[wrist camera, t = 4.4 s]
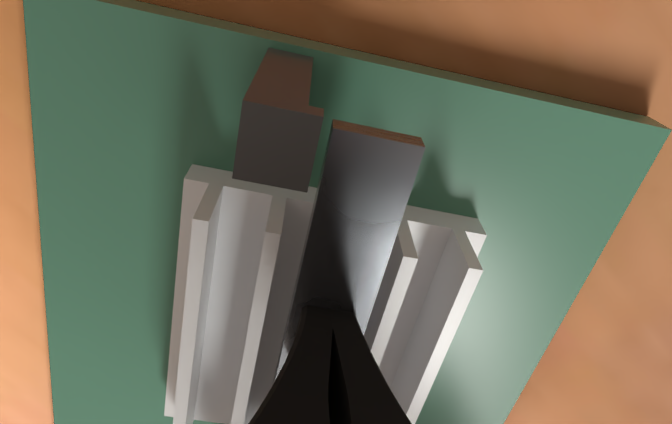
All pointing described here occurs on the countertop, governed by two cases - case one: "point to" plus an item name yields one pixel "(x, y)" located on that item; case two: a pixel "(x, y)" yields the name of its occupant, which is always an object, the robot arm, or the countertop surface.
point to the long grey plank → (353, 222)
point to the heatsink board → (296, 213)
